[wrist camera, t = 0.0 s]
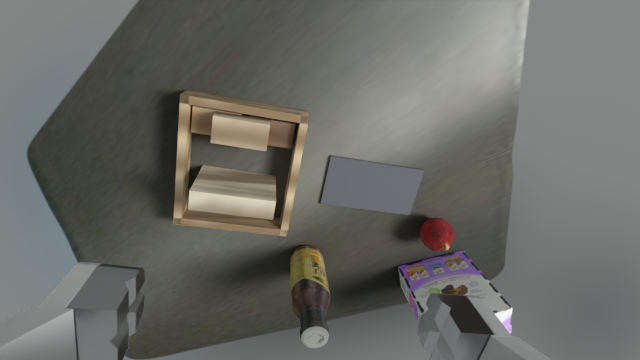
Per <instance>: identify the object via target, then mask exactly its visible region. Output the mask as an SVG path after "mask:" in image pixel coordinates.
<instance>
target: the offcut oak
mask: <svg viewBox="0 0 640 360" xmlns="http://www.w3.org/2000/svg"><path fill="white" fill-rule="evenodd" d="M216 111H219V112H225V113H231V114H237V115H243V113H237V112H231V111H225V110H219V109H213V108H207V107H201V106H195V105H193V109H192V124H191V132H192V133H198V134H205V135H211V131H212V119H213V115H214V113H215V112H216Z"/></svg>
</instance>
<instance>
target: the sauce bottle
mask: <svg viewBox="0 0 640 360" xmlns="http://www.w3.org/2000/svg"><path fill="white" fill-rule="evenodd" d="M290 272H291V296H292V306H293V310H294V312H295V314H296V315H297V317H299V318H300V322H301V329H300V338H301V342H302V343H303V344H304V345H305V346H306V347H309V348H319V347H322V346H323V345H324V344H326V343H327V341H328V338H329V329H328V326H327V324H326V312H327V309H328V305H329V302H330V292H329V287H328V280H327V275H326V271H325V265H324V260H323V257H322V254H321V252H320V251H319V250H318V249H317V248H316V247H314V246H311V245H307V246H300V247H298V248H297V249H296V250H295V251H294V252H293V253H292V255H291V261H290Z"/></svg>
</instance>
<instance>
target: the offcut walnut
mask: <svg viewBox="0 0 640 360" xmlns="http://www.w3.org/2000/svg"><path fill="white" fill-rule="evenodd" d="M250 117H255V118H261V119H267V120H271V121H270V130H269V137H268V144H267V145H269V146H276V147H283V148H290V149H292V144H293V138H294V132H295V126H296V123H295V122H290V121H284V120H278V119H272V118H266V117H260V116H254V115H250Z"/></svg>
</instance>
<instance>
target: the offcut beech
mask: <svg viewBox="0 0 640 360" xmlns="http://www.w3.org/2000/svg"><path fill="white" fill-rule="evenodd" d="M270 121H271V120H267V119H261V118H255V117H249V116H243V115H237V114H231V113H225V112H219V111H216V112H215V113H214V115H213V119H212V131H211V143H215V144H222V145H228V146H235V147H242V148H248V149H255V150H262V151H266V150H267V144H268V137H269V130H270Z"/></svg>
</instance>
